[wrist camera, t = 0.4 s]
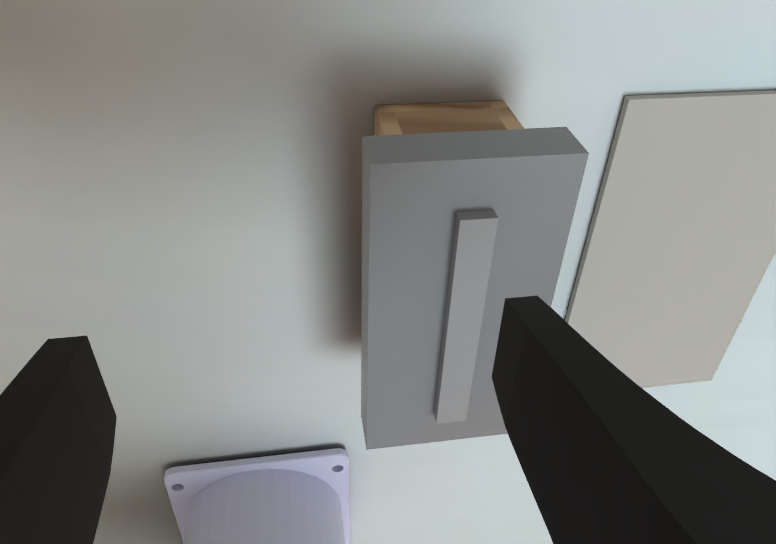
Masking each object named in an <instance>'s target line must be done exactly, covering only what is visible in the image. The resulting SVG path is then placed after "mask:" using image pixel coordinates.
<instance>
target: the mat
mask: <svg viewBox="0 0 776 544" xmlns="http://www.w3.org/2000/svg"><path fill="white" fill-rule="evenodd" d="M775 252H776V90H764V91H738V92H712V93H686V94H660V95H634V96H625V98H624V102H623V106H622V109H621V113H620V117H619V120H618V124H617V128H616V132H615V135H614V139H613V143H612V147H611V150H610V154H609V158H608V161H607V165H606V169H605V173H604V176H603V180H602V184H601V187H600V191H599V195H598V199H597V202H596V206H595V210H594V214H593V217H592V221H591V225H590V228H589V232H588V236H587V240H586V243H585V247H584V251H583V254H582V258H581V262H580V266H579V269H578V273H577V277H576V281H575V284H574V288H573V292H572V295H571V299H570V303H569V307H568V310H567V314H566V318H565V321H566V322H567V323H568V324H569V325H570V326H571V327H572V328H573V329H574V330H575V331H577V332H578V333H579V334H580V335H581V336H582V337H583V338H584V339H585V340H586V341H588V342H589V343H590V344H591V345H592V346H593V347H594V348H595V349H596V350H598V351H599V352H600V353H601V354H602V355H603V356H604V357H605V358H607V359H608V360H609V361H610V362H611V363H612V364H613V365H615V366H616V367H617V368H618V369H619V370H620V371H622V372H623V373H624V374H625V375H626V376H628V377H629V378H630V379H631V380H632V381H634V382H635V383H636V384H637V385H638V386H640V387H641V388H644V387H653V386H663V385H672V384H681V383H690V382H700V381H709V380H712V378H713V376H714V374H715V372H716V370H717V368H718V366H719V364H720V362H721V360H722V358H723V356H724V354H725V352H726V350H727V348H728V346H729V344H730V342H731V340H732V338H733V336H734V334H735V332H736V330H737V328H738V326H739V324H740V322H741V320H742V318H743V316H744V314H745V312H746V310H747V308H748V306H749V304H750V302H751V300H752V298H753V296H754V294H755V292H756V290H757V288H758V286H759V284H760V282H761V280H762V278H763V276H764V274H765V272H766V270H767V268H768V266H769V264H770V262H771V260H772V258H773V256H774V254H775Z"/></svg>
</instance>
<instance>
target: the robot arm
mask: <svg viewBox="0 0 776 544" xmlns="http://www.w3.org/2000/svg"><path fill="white" fill-rule="evenodd" d="M492 381H493V384H494V388H495V392H496V396H497V400H498V403H499V407H500V410H501V414H502V417H503V421H504V424H505V428H506V430H507V433H508V435H509V438H510V440H511V442H512V445H513V447H514V450H515V452H516V455H517V457H518V459H519V462H520V464H521V467H522V469H523V472H524V474H525V476H526V479H527V481H528V483H529V486H530V488H531V491H532V493H533V495H534V498H535V500H536V503H537V505H538V507H539V510H540V512H541V514H542V517H543V519H544V522H545V524H546V526H547V529H548V531H549V534H550V536H551V539H552V541H553V544H776V481H775V480H774V479H772V478H770V477H769V476H767V475H765V474H764V473H762V472H760V471H759V470H757V469H755V468H754V467H752V466H750V465H749V464H747V463H746V462H744V461H742V460H741V459H739V458H738V457H736V456H735V455H733V454H731V453H730V452H729V451H727V450H726V449H724V448H723V447H721V446H720V445H718V444H717V443H715V442H714V441H712V440H711V439H709V438H708V437H706V436H705V435H703V434H702V433H701V432H699V431H698V430H696V429H695V428H693V427H692V426H690V425H689V424H688V423H686V422H685V421H684V420H682V419H681V418H679V417H678V416H677V415H675V414H674V413H673V412H672V411H670V410H669V409H668V408H666V407H665V406H664V405H663V404H661V403H660V402H659V401H657V400H656V399H655V398H653V397H652V396H651V395H650V394H648V393H647V392H646V391H645V390H643V389H642V388H641V387H640V386H638V385H637V384H636V383H635V382H634V381H632V380H631V379H630V378H629V377H628V376H626V375H625V374H624V373H623V372H622V371H620V370H619V369H618V368H617V367H616V366H615V365H613V364H612V363H611V362H610V361H609V360H608V359H607V358H605V357H604V356H603V355H602V354H601V353H600V352H599V351H598V350H596V349H595V348H594V347H593V346H592V345H591V344H590V343H589V342H588V341H586V340H585V339H584V338H583V337H582V336H581V335H580V334H579V333H578V332H577V331H575V330H574V329H573V328H572V327H571V326H570V325H569V324H568V323H567V322H566V321H565V320H564V319H563V318H561V317H560V316H559V315H558V314H557V313H556V312H555V311H554V310H553V309H552V308H551V307H550V306H548V305H547V304H546V303H545V302H544V301H543V300H542V299H541V298H540V297H539V296H526V297H515V298H505V302H504V308H503V314H502V319H501V325H500V331H499V337H498V342H497V348H496V354H495V360H494V366H493V371H492ZM115 427H116V414H115V411H114V409H113V406H112V403H111V400H110V398H109V395H108V392H107V389H106V387H105V384H104V381H103V378H102V376H101V373H100V370H99V367H98V365H97V362H96V359H95V356H94V354H93V351H92V348H91V346H90V343H89V340H88V337H87V336H78V337H67V338H55V339H48V340H47V341H46V342H45V343H44V344H43V345H42V347H41V348H40V349H39V350H38V351H37V352H36V353H35V355H34V356H33V357H32V358H31V359H30V360H29V362H28V363H27V364H26V365H25V366H24V367H23V369H22V370H21V371H20V372H19V373H18V375H17V376H16V377H15V378H14V379H13V381H12V382H11V383H10V384H9V385H8V386H7V388H6V389H5V390H4V391H3V392H2V394H1V395H0V544H93V541H94V537H95V533H96V529H97V525H98V521H99V517H100V513H101V509H102V505H103V501H104V497H105V493H106V489H107V485H108V480H109V476H110V470H111V463H112V455H113V447H114V437H115ZM164 484H165V487H166V490H167V493H168V496H169V499H170V502H171V505H172V508H173V512H174V515H175V518H176V521H177V524H178V527H179V530H180V533H181V536H182V540H183V544H350V519H349V459H348V453H347V451H345V450H344V449H341V448H335V449H326V450H318V451H309V452H300V453H291V454H282V455H274V456H265V457H256V458H247V459H238V460H230V461H221V462H212V463H203V464H194V465H186V466H177V467H172V468H169V469H167V470H166V471H165V474H164Z"/></svg>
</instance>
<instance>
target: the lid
mask: <svg viewBox="0 0 776 544" xmlns="http://www.w3.org/2000/svg"><path fill="white" fill-rule="evenodd" d="M588 154H589V153H588V152H587V151H586V149H585V148H584V147H583V146H582V145H581V144H580V142H579V141H578V140H577V139H576V138H575V137H574V135H573V134H572V133H571V132H570V131H569V130H568V128H567V127H554V128H532V129H510V130H488V131H465V132H443V133H421V134H399V135H376V136H362V348H361V417H362V423H363V430H364V436H365V442H366V449H367V450H368V449H376V448H385V447H394V446H403V445H411V444H420V443H429V442H437V441H446V440H455V439H464V438H472V437H481V436H490V435H498V434H507V430H506V428H505V424H504V421H503V417H502V414H501V410H500V407H499V403H498V400H497V396H496V392H495V388H494V384H493V381H492V371H493V366H494V360H495V354H496V348H497V342H498V337H499V331H500V325H501V319H502V314H503V308H504V302H505V298H515V297H526V296H539V297H540V298H541V299H542V300H543V301H544V302H545V303H546V304H547V305H548V306H550V307H551V304H552V300H553V296H554V292H555V288H556V284H557V280H558V276H559V272H560V268H561V264H562V259H563V255H564V251H565V247H566V243H567V239H568V235H569V231H570V227H571V223H572V219H573V215H574V211H575V207H576V203H577V199H578V194H579V190H580V186H581V182H582V178H583V174H584V170H585V166H586V162H587V158H588Z"/></svg>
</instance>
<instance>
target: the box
mask: <svg viewBox="0 0 776 544" xmlns="http://www.w3.org/2000/svg"><path fill="white" fill-rule="evenodd" d="M510 129H524V128H523V126H522V125H521V124H520V122H519V121H518V120H517V118H516V117H515V116H514V114H513V113H512V111H511V110H510V109H509V107H508V106H507V105H506V103H505V102H504V101H477V102H451V103H425V104H399V105H375V111H374V136H376V135H399V134H421V133H443V132H465V131H488V130H510Z"/></svg>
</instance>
